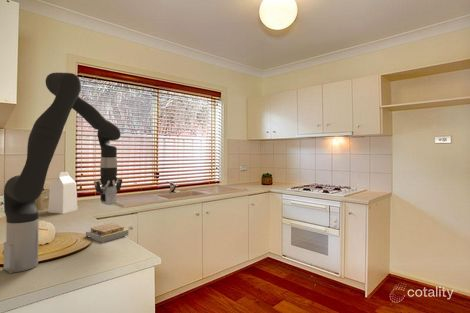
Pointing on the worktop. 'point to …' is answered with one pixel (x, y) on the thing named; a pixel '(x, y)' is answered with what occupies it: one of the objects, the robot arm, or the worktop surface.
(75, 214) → the worktop surface
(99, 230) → the pallet
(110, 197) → the medicine box
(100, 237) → the dock
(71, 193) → the milk
